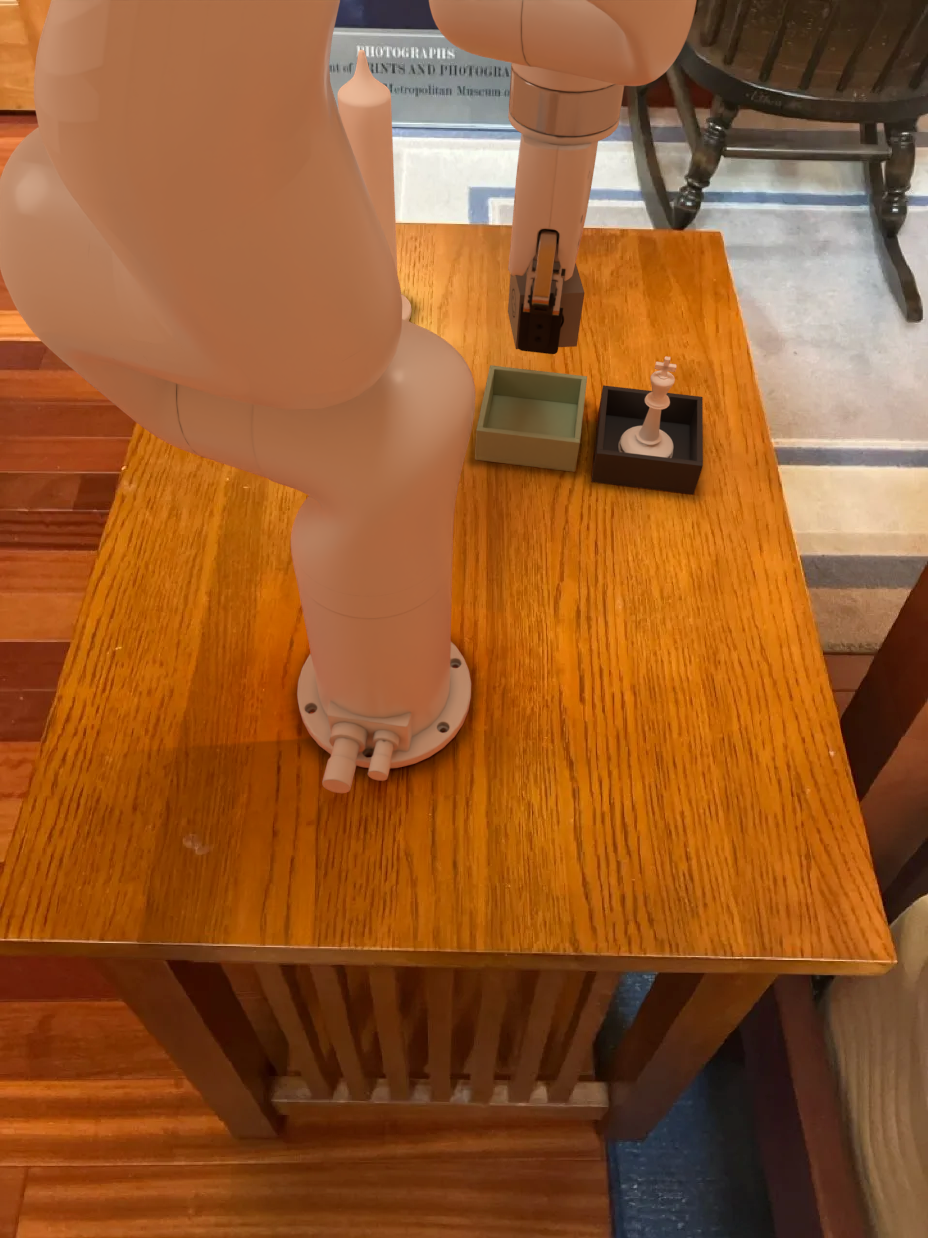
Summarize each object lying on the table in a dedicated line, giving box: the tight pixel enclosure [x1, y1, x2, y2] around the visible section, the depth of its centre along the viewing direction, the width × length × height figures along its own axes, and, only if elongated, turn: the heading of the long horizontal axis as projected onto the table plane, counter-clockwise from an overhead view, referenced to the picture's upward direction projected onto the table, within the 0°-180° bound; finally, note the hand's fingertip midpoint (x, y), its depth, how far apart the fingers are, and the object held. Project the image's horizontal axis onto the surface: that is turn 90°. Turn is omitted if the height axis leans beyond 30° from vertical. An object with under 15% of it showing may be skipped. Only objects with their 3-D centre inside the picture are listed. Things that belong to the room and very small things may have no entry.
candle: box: [336, 49, 412, 322], centre depth 86 cm, size 7×7×25 cm
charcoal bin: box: [590, 385, 704, 495], centre depth 83 cm, size 9×9×4 cm
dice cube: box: [507, 261, 585, 350], centre depth 75 cm, size 5×5×5 cm
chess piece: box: [618, 355, 677, 458], centre depth 80 cm, size 5×5×10 cm
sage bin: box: [474, 364, 588, 473], centre depth 84 cm, size 9×9×4 cm
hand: (542, 323), depth 76 cm, fingers closed on dice cube, 5 cm apart
